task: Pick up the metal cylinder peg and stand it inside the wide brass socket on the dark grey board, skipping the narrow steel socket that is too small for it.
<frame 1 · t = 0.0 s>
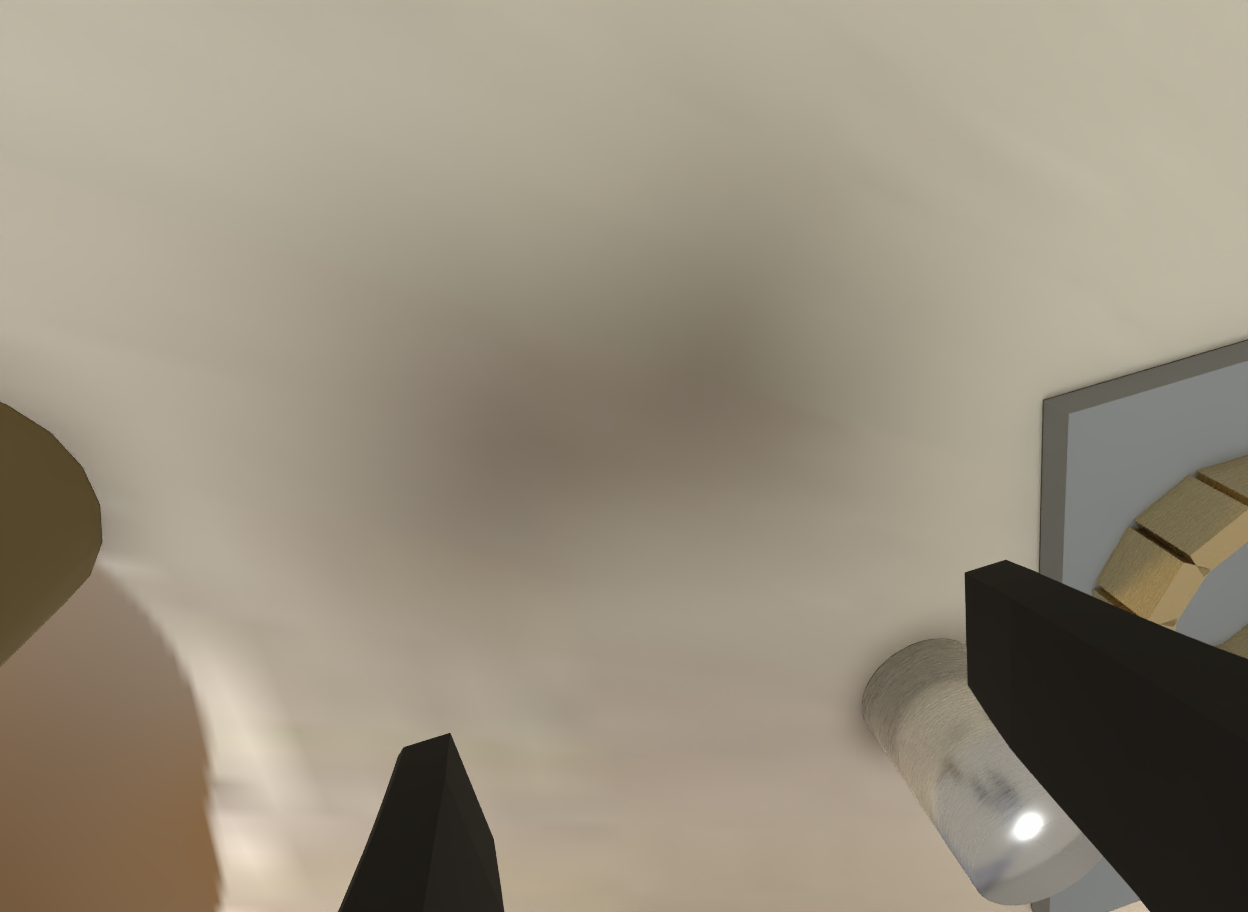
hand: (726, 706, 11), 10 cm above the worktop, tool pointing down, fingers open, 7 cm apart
wide socket: (1184, 558, 26), resting on fitting board
metal cylinder peg: (921, 691, 27), on the worktop
fitting board: (1172, 655, 28), on the worktop
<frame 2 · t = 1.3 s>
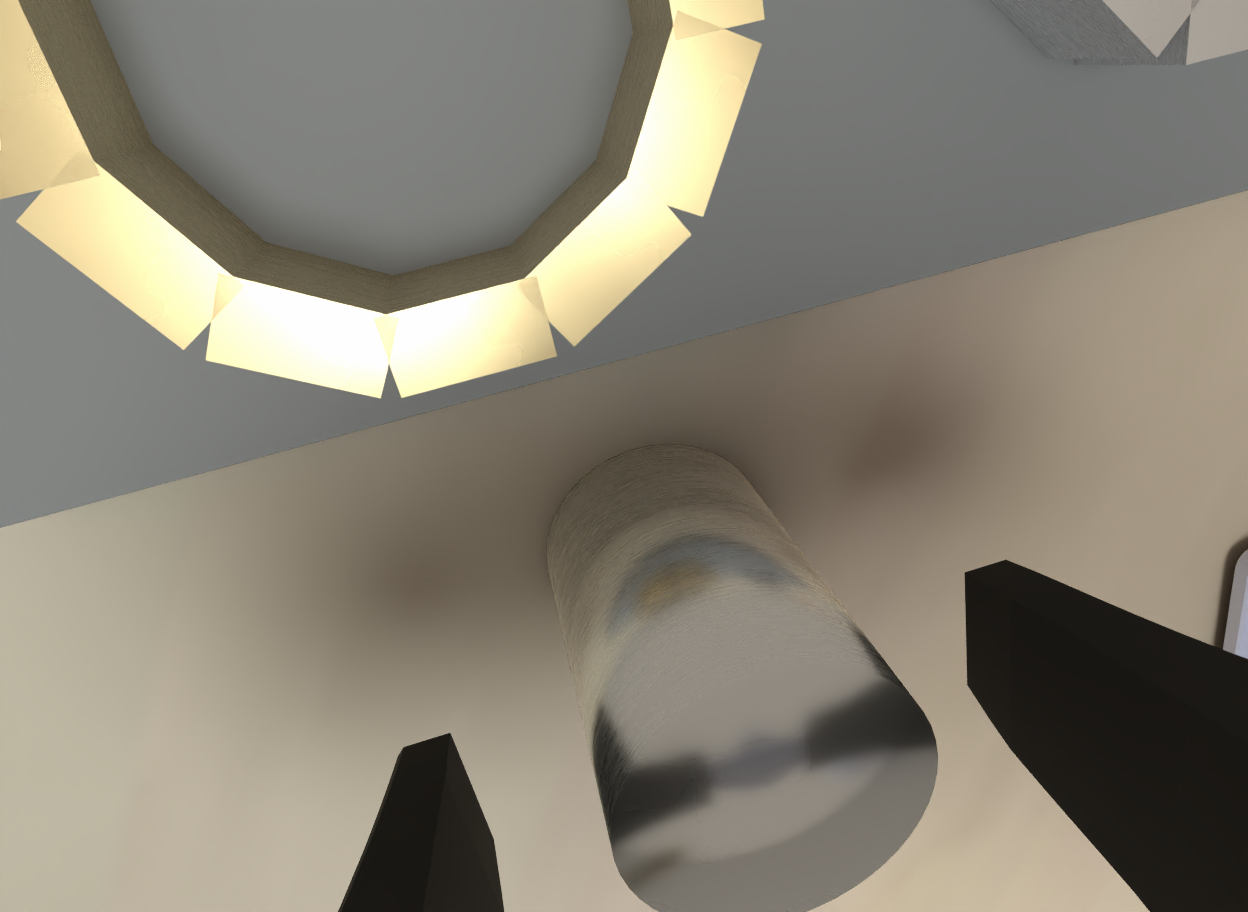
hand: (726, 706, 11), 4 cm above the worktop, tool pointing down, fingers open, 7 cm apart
wide socket: (382, 18, 11), resting on fitting board
metal cylinder peg: (657, 546, 15), on the worktop
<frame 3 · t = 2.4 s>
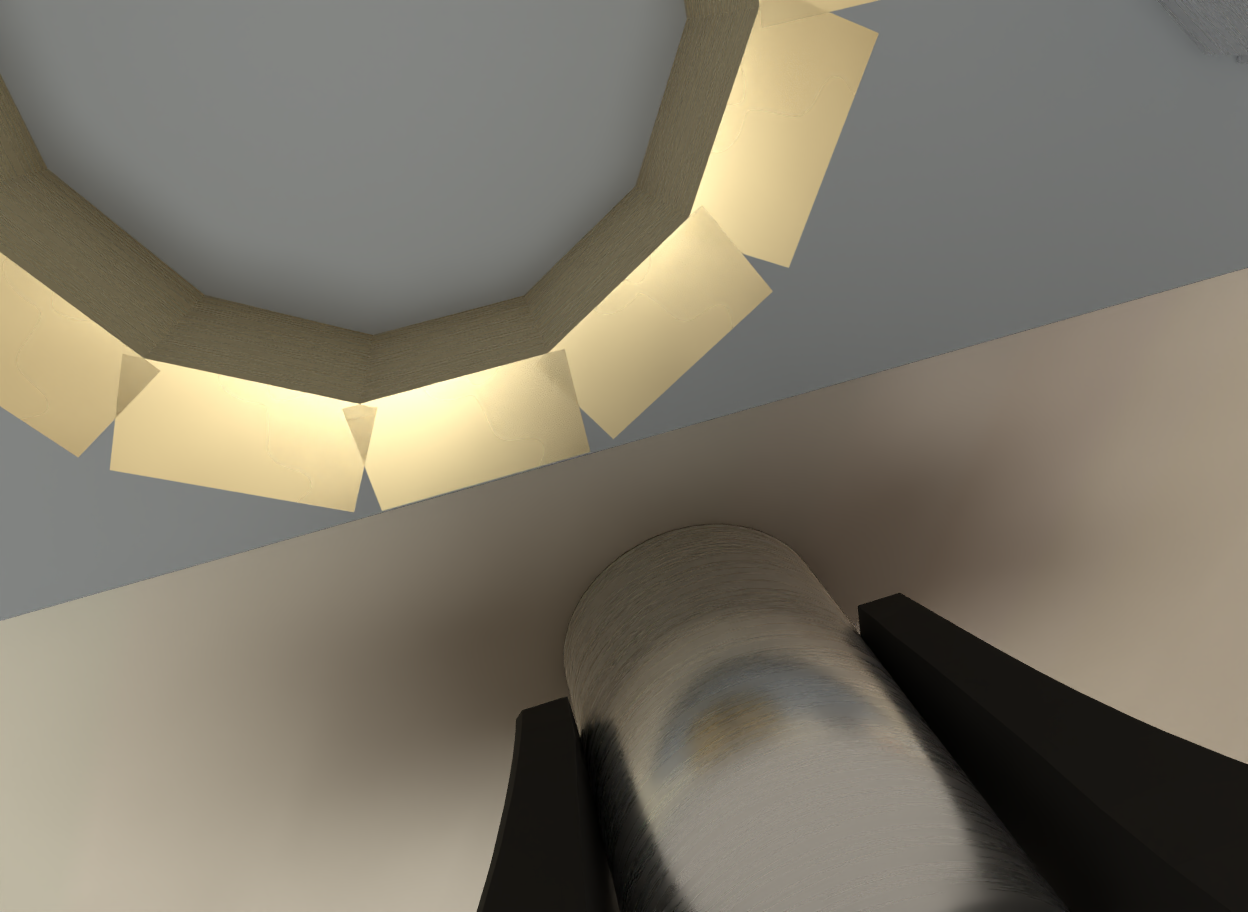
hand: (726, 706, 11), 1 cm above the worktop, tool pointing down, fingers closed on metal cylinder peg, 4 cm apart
wide socket: (357, 1, 8), resting on fitting board
metal cylinder peg: (696, 641, 13), on the worktop, touching gripper
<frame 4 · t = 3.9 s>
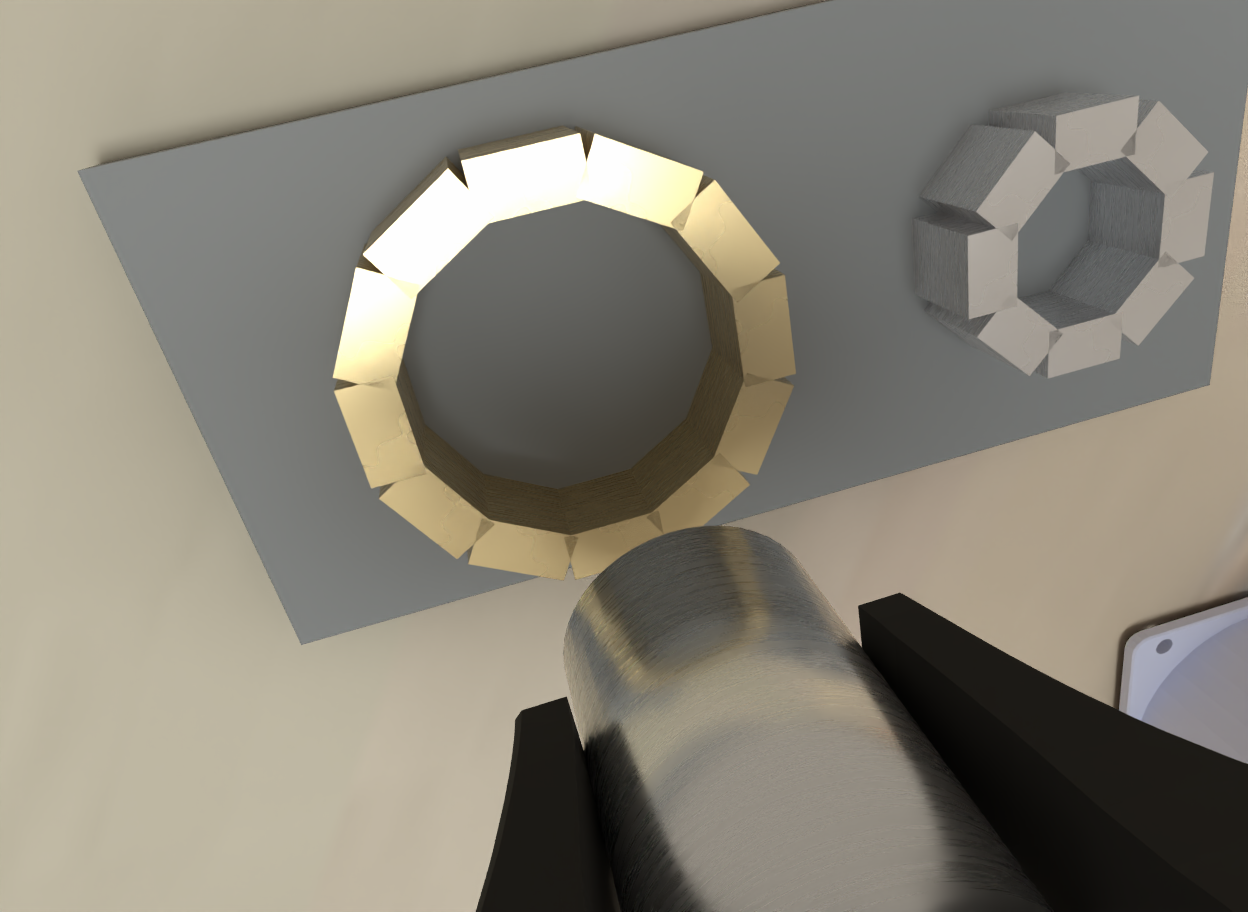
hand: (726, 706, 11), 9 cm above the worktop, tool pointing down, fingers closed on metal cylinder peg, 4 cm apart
wide socket: (555, 334, 18), resting on fitting board
metal cylinder peg: (692, 638, 13), point 7 cm above the worktop, touching gripper
fitting board: (737, 287, 18), on the worktop
narrow socket: (995, 220, 19), resting on fitting board
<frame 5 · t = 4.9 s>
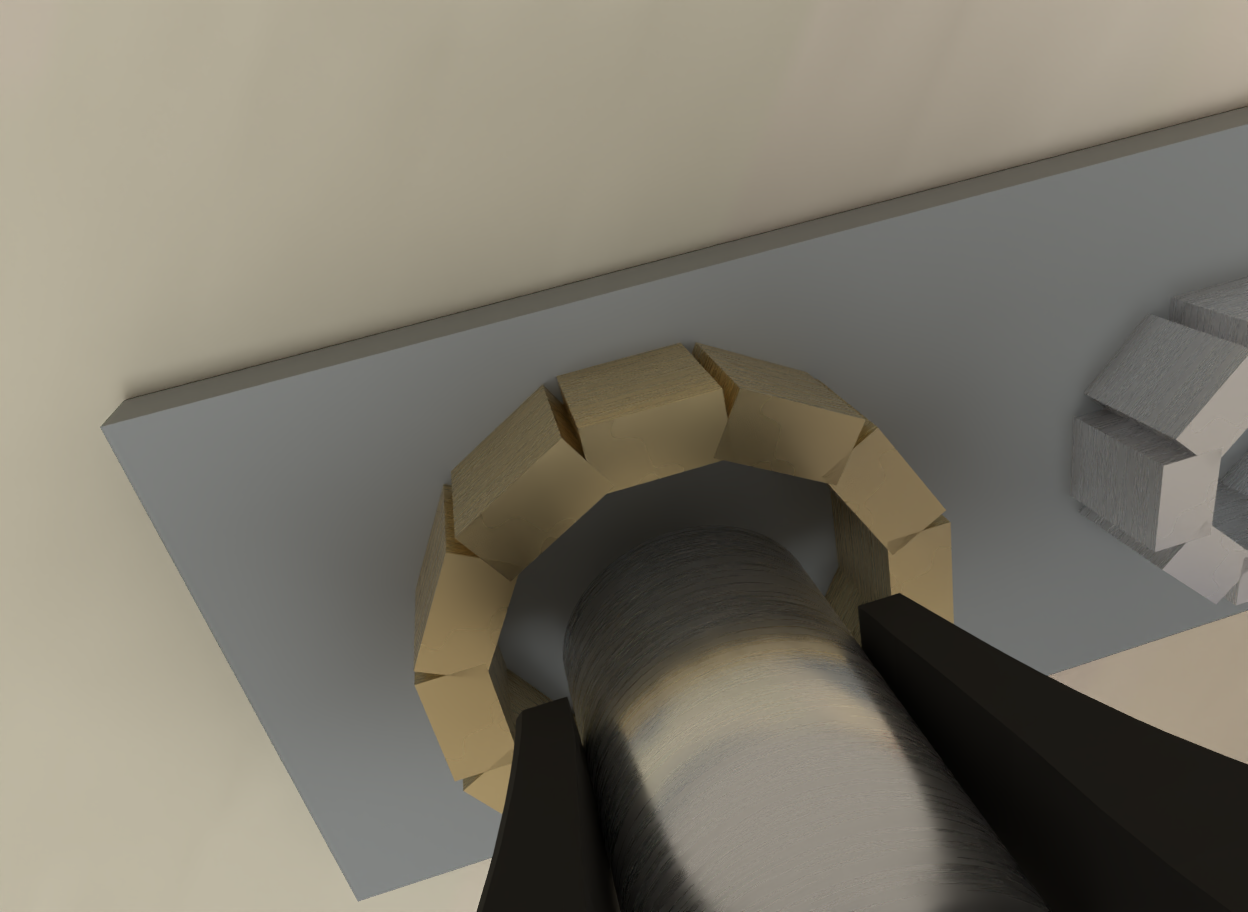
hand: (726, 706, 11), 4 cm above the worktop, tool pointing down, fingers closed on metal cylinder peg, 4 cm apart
wide socket: (653, 548, 15), resting on fitting board
metal cylinder peg: (692, 638, 13), point 2 cm above the worktop, touching gripper
fitting board: (861, 486, 15), on the worktop
narrow socket: (1155, 399, 16), resting on fitting board
when the fingers open (4 cm above the worktop, at t = 5.8 s): metal cylinder peg drops 1 cm, resting on fitting board.
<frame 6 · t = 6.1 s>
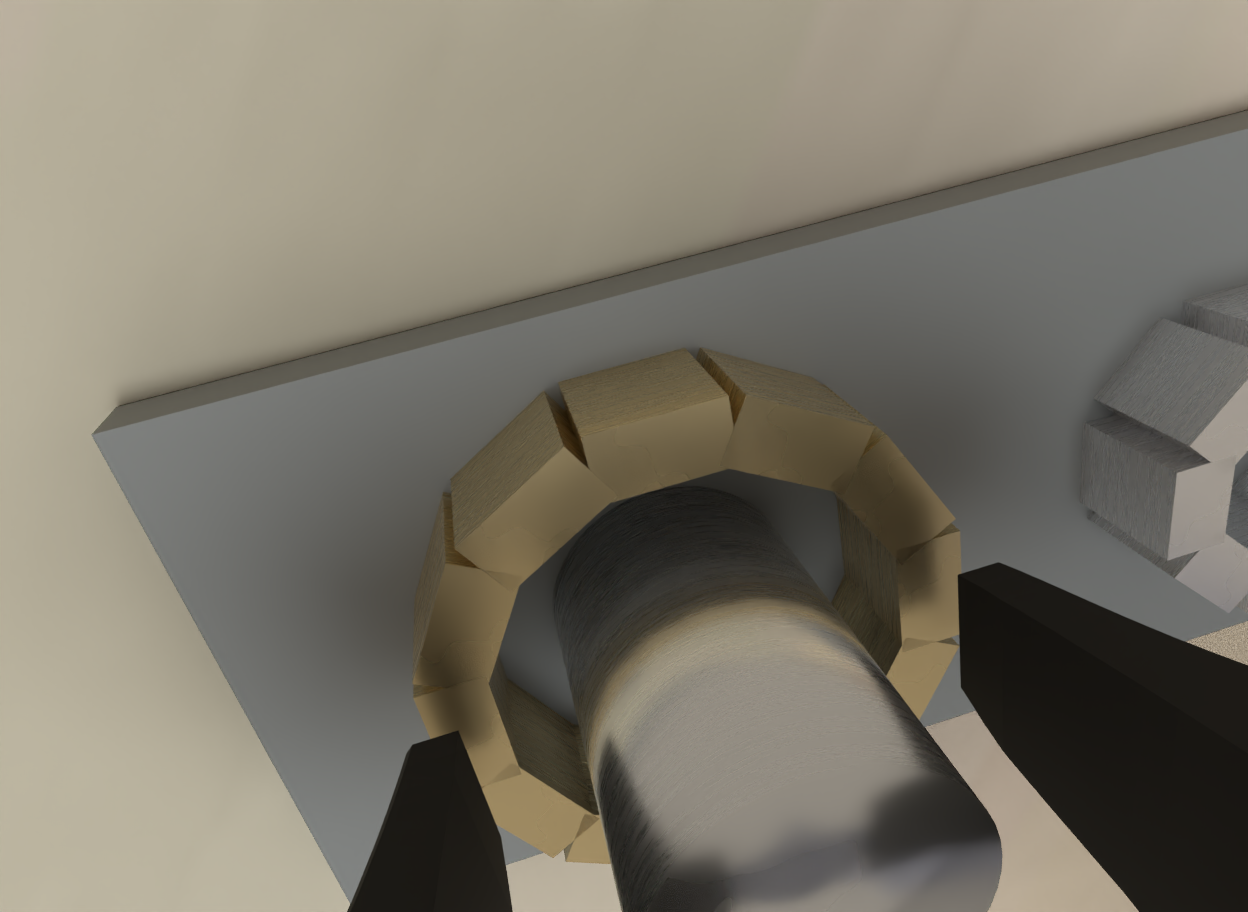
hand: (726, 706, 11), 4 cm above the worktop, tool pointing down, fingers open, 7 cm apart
wide socket: (656, 555, 15), resting on fitting board
metal cylinder peg: (672, 594, 14), point 1 cm above the worktop, touching fitting board
fitting board: (867, 492, 15), on the worktop
narrow socket: (1165, 404, 16), resting on fitting board
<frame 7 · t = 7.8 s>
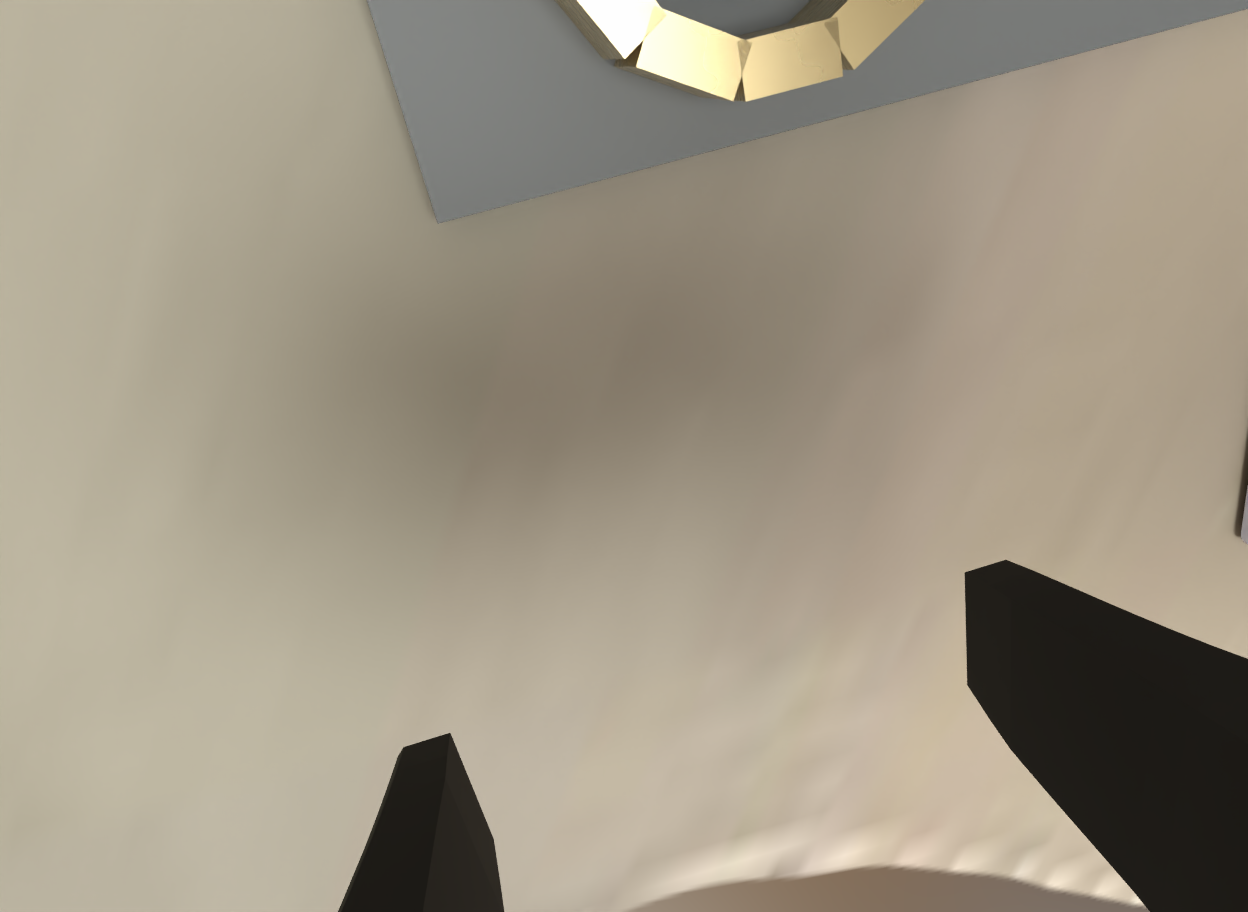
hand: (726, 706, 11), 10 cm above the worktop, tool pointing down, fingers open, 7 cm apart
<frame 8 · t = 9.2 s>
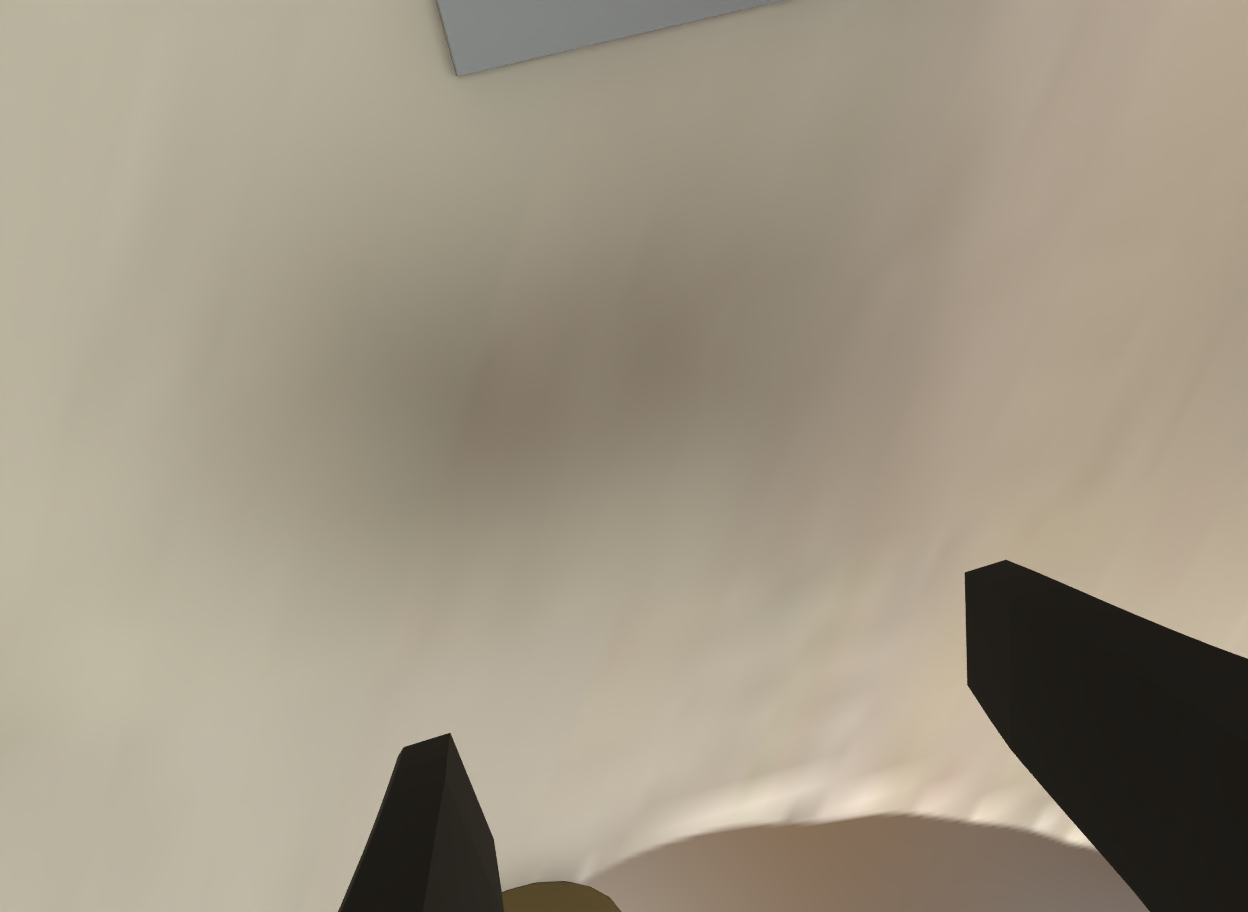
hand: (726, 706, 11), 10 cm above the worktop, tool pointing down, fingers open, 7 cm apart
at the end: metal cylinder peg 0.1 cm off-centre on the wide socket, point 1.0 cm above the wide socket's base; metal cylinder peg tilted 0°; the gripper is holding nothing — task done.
